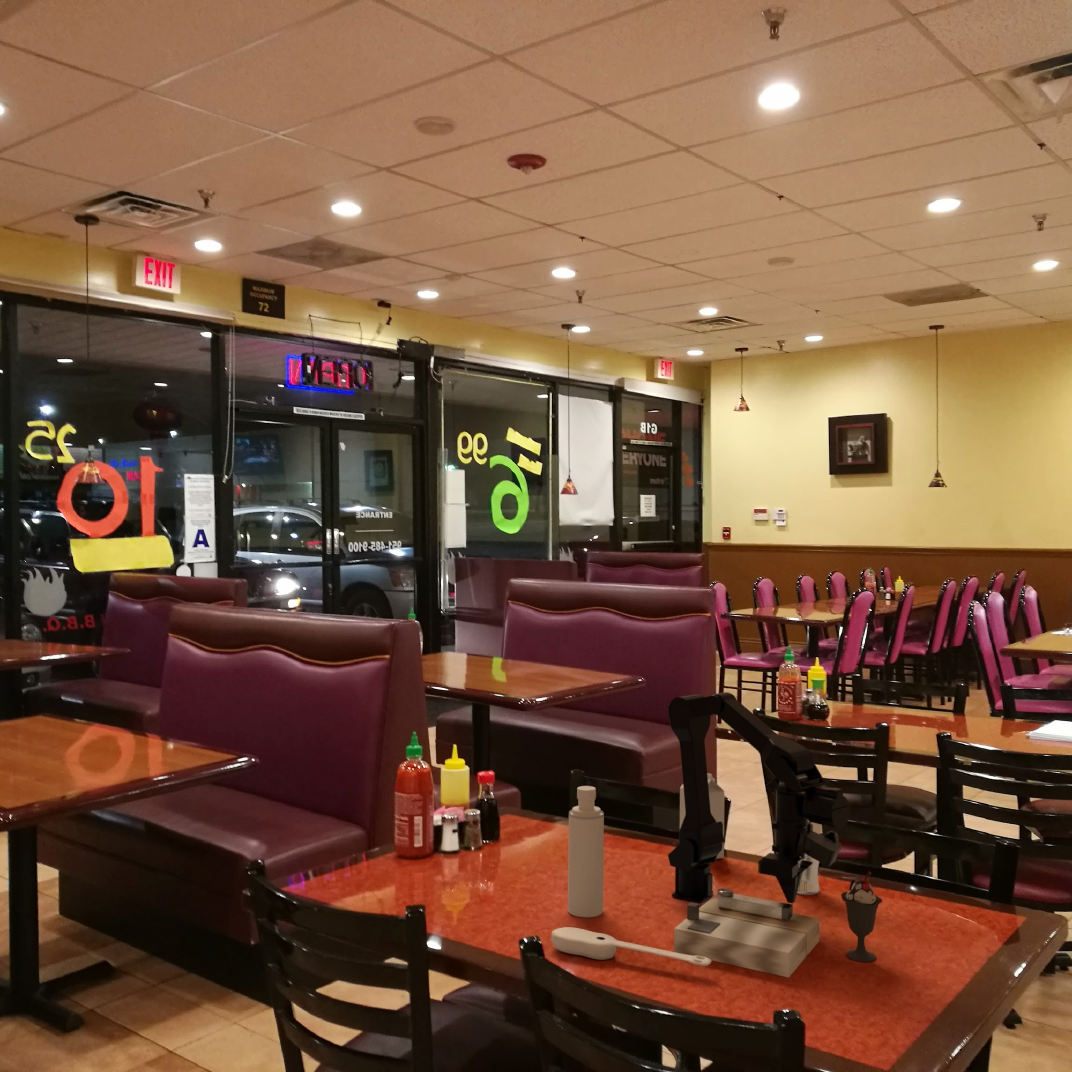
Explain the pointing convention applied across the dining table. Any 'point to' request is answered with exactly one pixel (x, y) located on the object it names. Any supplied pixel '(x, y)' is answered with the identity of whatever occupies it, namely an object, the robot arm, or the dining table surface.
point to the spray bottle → (585, 856)
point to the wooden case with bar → (746, 938)
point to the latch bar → (754, 905)
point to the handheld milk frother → (608, 946)
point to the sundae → (861, 916)
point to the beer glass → (810, 872)
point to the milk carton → (715, 805)
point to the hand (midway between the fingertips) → (791, 902)
